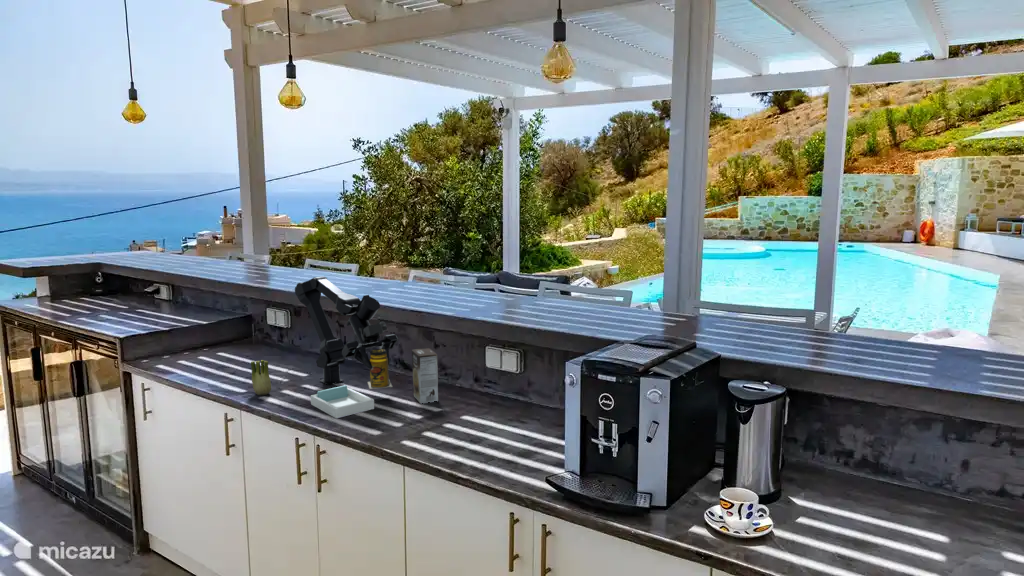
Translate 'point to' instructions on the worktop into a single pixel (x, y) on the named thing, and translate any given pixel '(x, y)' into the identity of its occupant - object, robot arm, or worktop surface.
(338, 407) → the pale mint tray
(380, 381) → the condiment
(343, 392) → the plate
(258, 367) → the fennel bulb
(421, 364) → the coffee box
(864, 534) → the worktop surface
